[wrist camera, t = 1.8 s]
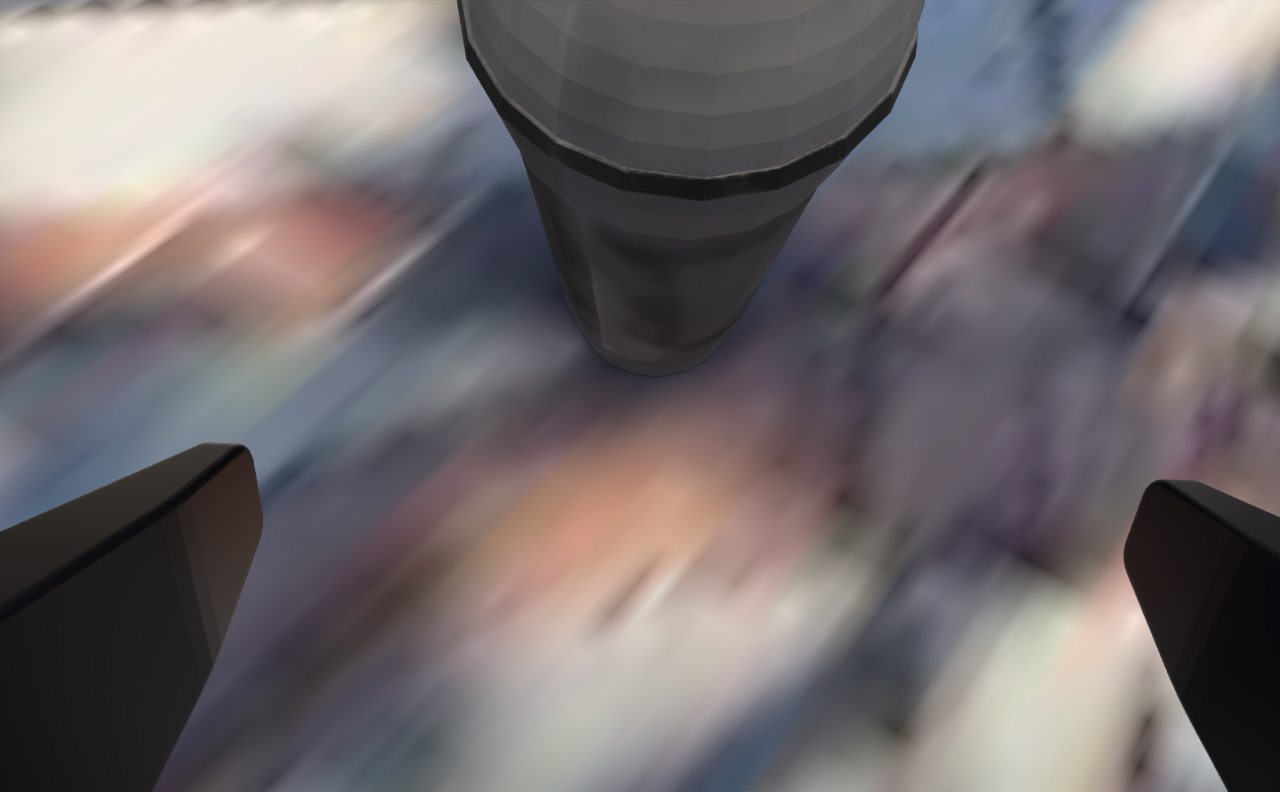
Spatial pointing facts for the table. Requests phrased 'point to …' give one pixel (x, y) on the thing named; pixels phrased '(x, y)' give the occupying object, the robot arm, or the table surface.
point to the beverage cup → (681, 144)
